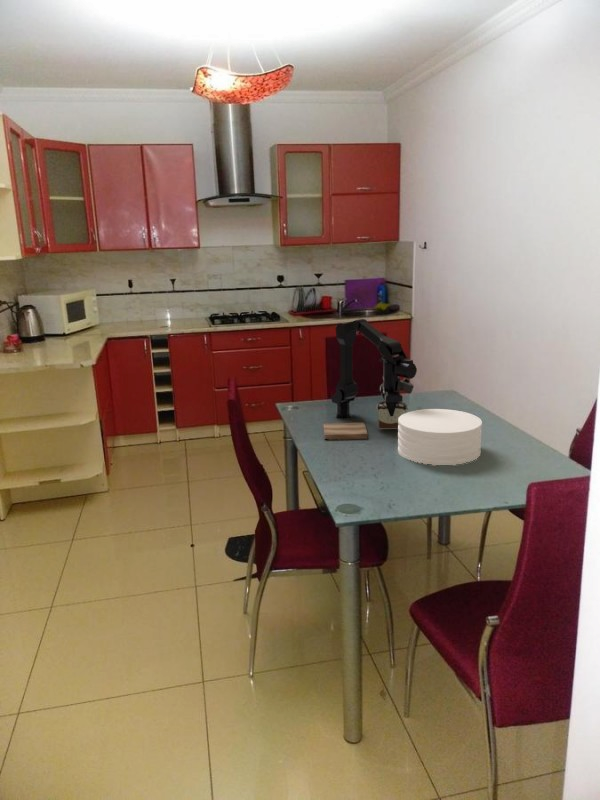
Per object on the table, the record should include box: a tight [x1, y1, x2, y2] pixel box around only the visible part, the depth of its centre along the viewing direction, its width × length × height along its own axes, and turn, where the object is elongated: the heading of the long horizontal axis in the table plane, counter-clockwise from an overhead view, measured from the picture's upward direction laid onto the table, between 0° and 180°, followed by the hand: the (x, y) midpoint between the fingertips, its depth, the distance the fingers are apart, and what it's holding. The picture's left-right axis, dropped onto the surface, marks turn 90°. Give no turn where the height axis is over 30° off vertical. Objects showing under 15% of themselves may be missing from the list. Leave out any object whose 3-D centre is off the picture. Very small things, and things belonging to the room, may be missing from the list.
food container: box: [375, 400, 409, 430], centre depth 230 cm, size 12×6×10 cm, turn 90°
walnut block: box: [322, 422, 368, 441], centre depth 228 cm, size 14×16×2 cm
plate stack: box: [397, 408, 483, 466], centre depth 205 cm, size 28×28×12 cm
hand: (390, 413), depth 229 cm, fingers closed on food container, 6 cm apart
